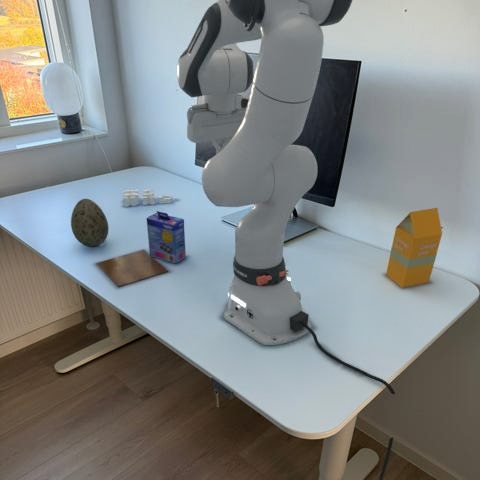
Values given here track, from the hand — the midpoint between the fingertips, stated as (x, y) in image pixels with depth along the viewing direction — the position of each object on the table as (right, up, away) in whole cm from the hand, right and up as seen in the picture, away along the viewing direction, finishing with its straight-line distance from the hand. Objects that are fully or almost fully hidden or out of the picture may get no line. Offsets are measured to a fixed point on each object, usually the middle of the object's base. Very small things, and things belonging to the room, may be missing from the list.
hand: (221, 154), depth 132 cm
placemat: (-26, -33, +1) cm, 42 cm away
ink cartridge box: (-17, -29, +6) cm, 34 cm away
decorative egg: (-41, -24, +13) cm, 49 cm away
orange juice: (+52, -36, -4) cm, 63 cm away
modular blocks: (-30, -3, +43) cm, 53 cm away
